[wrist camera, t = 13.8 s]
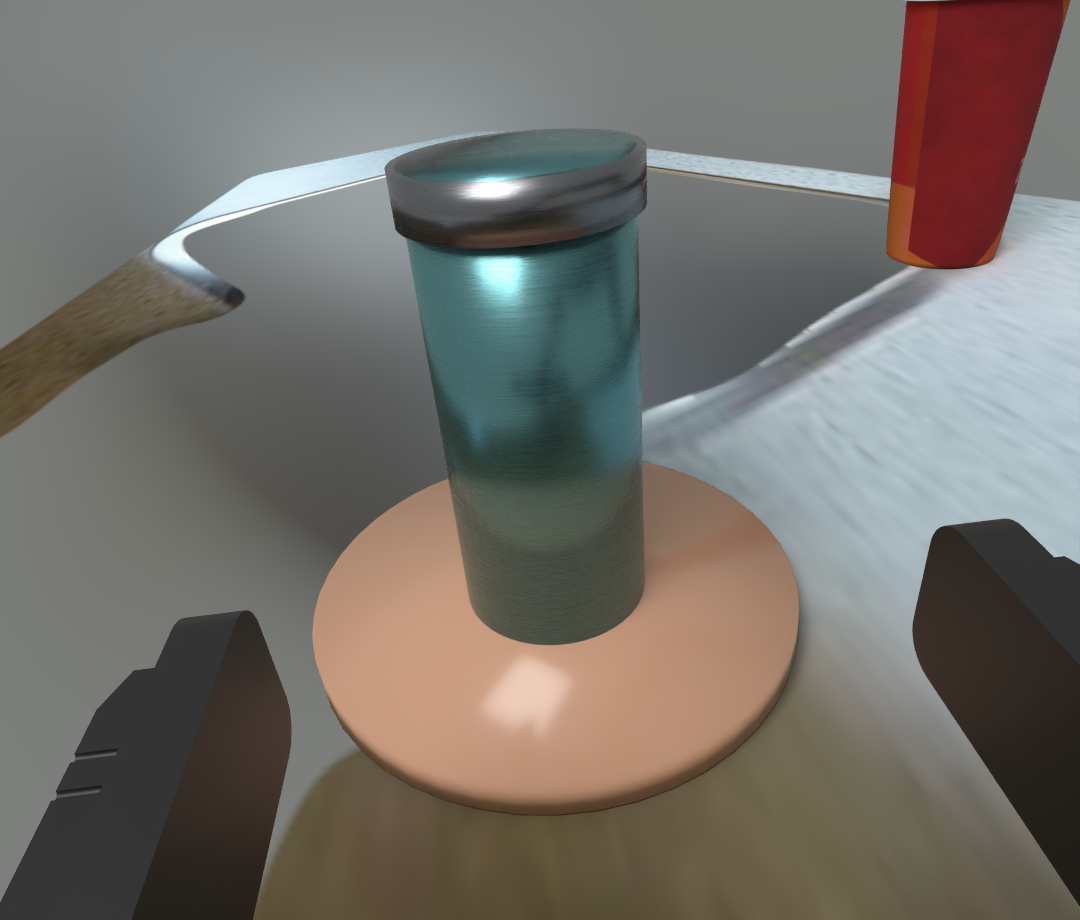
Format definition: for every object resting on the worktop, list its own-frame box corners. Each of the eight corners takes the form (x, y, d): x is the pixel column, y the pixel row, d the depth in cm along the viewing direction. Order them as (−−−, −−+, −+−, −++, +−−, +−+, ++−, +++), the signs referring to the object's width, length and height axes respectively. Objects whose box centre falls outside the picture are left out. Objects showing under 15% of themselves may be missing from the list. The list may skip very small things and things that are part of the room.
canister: (523, 508, 26) (478, 128, 20) (680, 550, 24) (685, 129, 18) (423, 613, 22) (329, 179, 16) (599, 677, 20) (568, 189, 14)
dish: (488, 448, 32) (485, 427, 31) (846, 532, 25) (850, 507, 25) (215, 687, 22) (205, 662, 21) (690, 926, 15) (690, 898, 15)
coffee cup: (1047, 252, 46) (1126, -53, 38) (957, 286, 43) (1023, -40, 35) (921, 225, 52) (967, -41, 44) (835, 253, 49) (867, -29, 41)
